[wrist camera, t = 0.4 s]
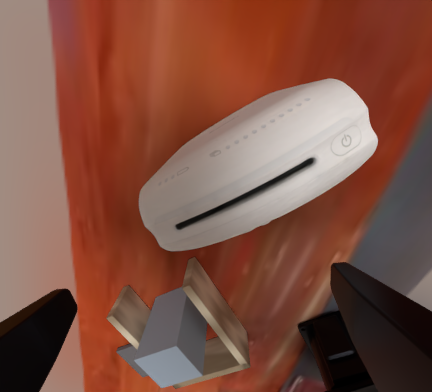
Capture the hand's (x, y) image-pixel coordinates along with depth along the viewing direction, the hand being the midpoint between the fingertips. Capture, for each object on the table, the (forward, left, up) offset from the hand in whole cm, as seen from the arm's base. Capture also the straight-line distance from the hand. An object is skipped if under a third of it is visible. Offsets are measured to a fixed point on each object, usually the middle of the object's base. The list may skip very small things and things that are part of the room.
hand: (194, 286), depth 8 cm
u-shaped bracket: (-13, +11, -14) cm, 22 cm away
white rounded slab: (+2, -3, -14) cm, 14 cm away
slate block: (-12, +11, -14) cm, 22 cm away
